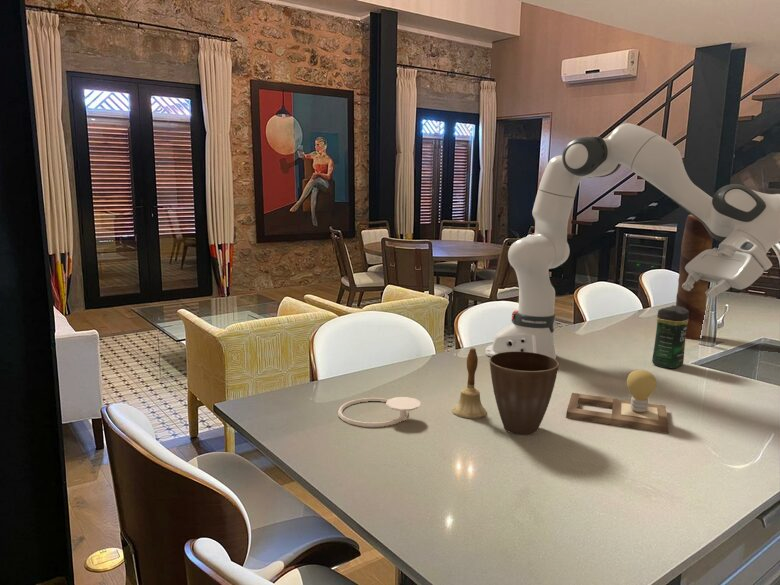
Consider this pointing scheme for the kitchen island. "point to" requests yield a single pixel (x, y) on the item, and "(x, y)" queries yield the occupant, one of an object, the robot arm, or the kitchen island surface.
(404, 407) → the hand towel holder
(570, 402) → the socket board
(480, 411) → the hand bell
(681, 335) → the coffee jar
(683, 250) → the wafer roll
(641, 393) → the light bulb
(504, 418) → the plant pot
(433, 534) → the kitchen island surface
